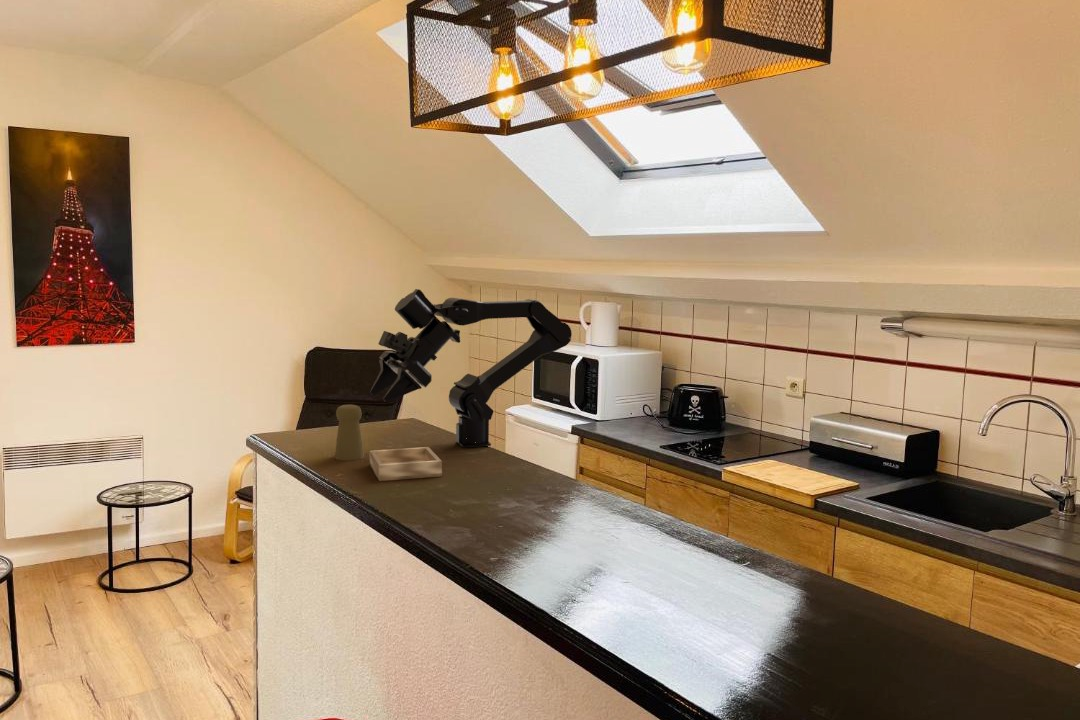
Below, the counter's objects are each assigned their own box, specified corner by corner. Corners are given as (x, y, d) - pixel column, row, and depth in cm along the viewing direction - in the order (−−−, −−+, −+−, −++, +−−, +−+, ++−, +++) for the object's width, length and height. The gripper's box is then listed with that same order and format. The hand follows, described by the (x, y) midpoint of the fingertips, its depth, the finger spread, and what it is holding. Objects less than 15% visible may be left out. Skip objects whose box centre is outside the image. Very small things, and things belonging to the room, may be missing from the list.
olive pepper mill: (332, 454, 177) (331, 403, 176) (360, 452, 180) (360, 401, 178) (337, 461, 172) (337, 408, 170) (367, 459, 174) (366, 406, 173)
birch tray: (428, 461, 173) (428, 446, 173) (441, 476, 162) (441, 461, 162) (369, 465, 169) (369, 450, 169) (379, 481, 158) (379, 465, 158)
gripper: (388, 314, 185) (339, 366, 182) (417, 321, 169) (363, 378, 165) (422, 348, 190) (374, 399, 186) (453, 358, 174) (402, 414, 170)
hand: (377, 397), depth 177 cm, fingers open, 9 cm apart
